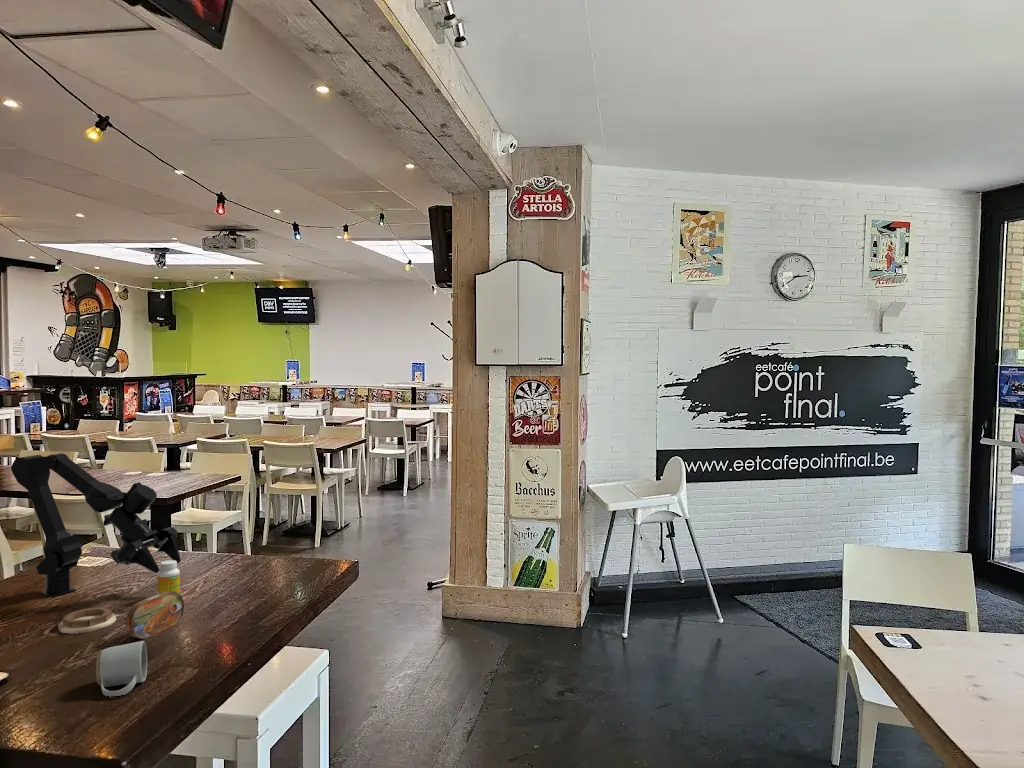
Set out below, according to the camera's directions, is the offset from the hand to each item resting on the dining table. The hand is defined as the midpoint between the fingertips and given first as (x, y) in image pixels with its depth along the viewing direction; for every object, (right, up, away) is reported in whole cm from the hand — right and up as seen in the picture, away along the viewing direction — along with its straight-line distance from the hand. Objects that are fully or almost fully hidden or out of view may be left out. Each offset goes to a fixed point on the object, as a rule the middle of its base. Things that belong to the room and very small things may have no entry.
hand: (168, 566), depth 191 cm
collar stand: (-10, -9, -19) cm, 24 cm away
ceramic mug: (+16, -10, -52) cm, 56 cm away
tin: (+8, -9, -24) cm, 27 cm away
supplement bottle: (0, -9, 0) cm, 9 cm away
